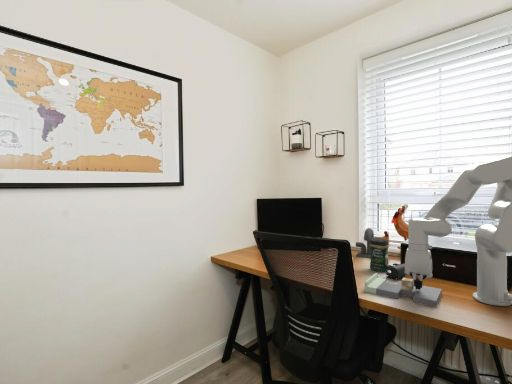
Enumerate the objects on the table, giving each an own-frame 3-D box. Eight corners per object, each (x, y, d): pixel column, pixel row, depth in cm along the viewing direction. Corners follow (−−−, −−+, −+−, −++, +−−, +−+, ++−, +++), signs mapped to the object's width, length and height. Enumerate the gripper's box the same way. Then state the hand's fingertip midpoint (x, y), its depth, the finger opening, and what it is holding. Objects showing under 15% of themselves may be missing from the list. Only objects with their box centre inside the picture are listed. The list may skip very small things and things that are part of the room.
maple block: (413, 288, 128) (413, 279, 128) (411, 290, 125) (411, 281, 125) (403, 286, 131) (403, 277, 130) (401, 288, 128) (401, 279, 127)
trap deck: (441, 294, 126) (441, 284, 126) (436, 307, 114) (436, 296, 114) (375, 281, 144) (375, 272, 144) (364, 291, 132) (364, 281, 132)
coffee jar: (367, 270, 163) (367, 237, 162) (373, 267, 168) (373, 235, 168) (385, 273, 156) (385, 240, 155) (390, 270, 161) (390, 237, 161)
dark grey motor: (398, 281, 144) (398, 268, 144) (385, 277, 150) (385, 265, 150) (409, 277, 149) (409, 264, 149) (396, 274, 155) (396, 261, 155)
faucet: (352, 259, 186) (351, 228, 186) (357, 254, 200) (357, 225, 199) (382, 263, 177) (382, 230, 176) (385, 257, 190) (385, 227, 189)
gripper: (439, 247, 123) (439, 289, 123) (401, 243, 132) (401, 282, 133) (437, 251, 117) (437, 295, 117) (397, 246, 126) (397, 287, 127)
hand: (418, 288), depth 125 cm, fingers closed
